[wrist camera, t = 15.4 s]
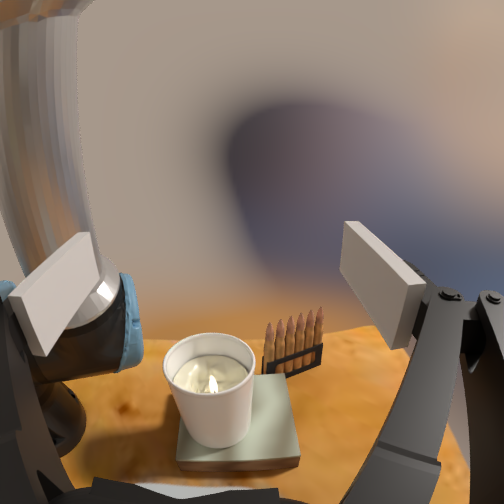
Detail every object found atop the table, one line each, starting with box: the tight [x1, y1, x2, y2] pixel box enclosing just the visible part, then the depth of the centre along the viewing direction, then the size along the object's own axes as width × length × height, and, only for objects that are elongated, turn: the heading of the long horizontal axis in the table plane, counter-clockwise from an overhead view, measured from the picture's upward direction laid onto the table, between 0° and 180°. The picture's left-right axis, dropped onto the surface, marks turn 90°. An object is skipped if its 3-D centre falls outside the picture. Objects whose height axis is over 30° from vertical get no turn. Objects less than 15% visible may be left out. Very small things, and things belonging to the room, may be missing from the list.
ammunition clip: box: [261, 307, 324, 378], centre depth 47 cm, size 11×2×12 cm, turn 115°
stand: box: [176, 373, 301, 472], centre depth 38 cm, size 15×15×3 cm
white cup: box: [163, 333, 255, 449], centre depth 33 cm, size 10×10×12 cm
